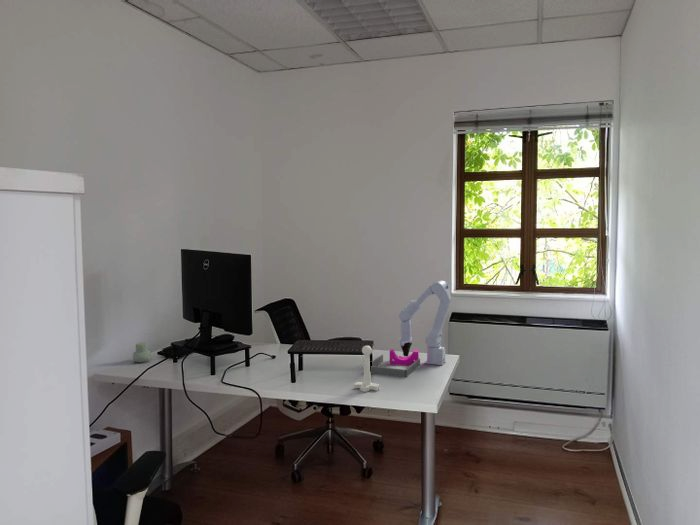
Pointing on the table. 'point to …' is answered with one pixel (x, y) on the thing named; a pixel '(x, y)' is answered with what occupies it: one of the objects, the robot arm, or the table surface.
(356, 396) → the table surface
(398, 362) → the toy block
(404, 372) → the grey tray
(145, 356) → the air freshener
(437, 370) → the table surface
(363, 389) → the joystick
